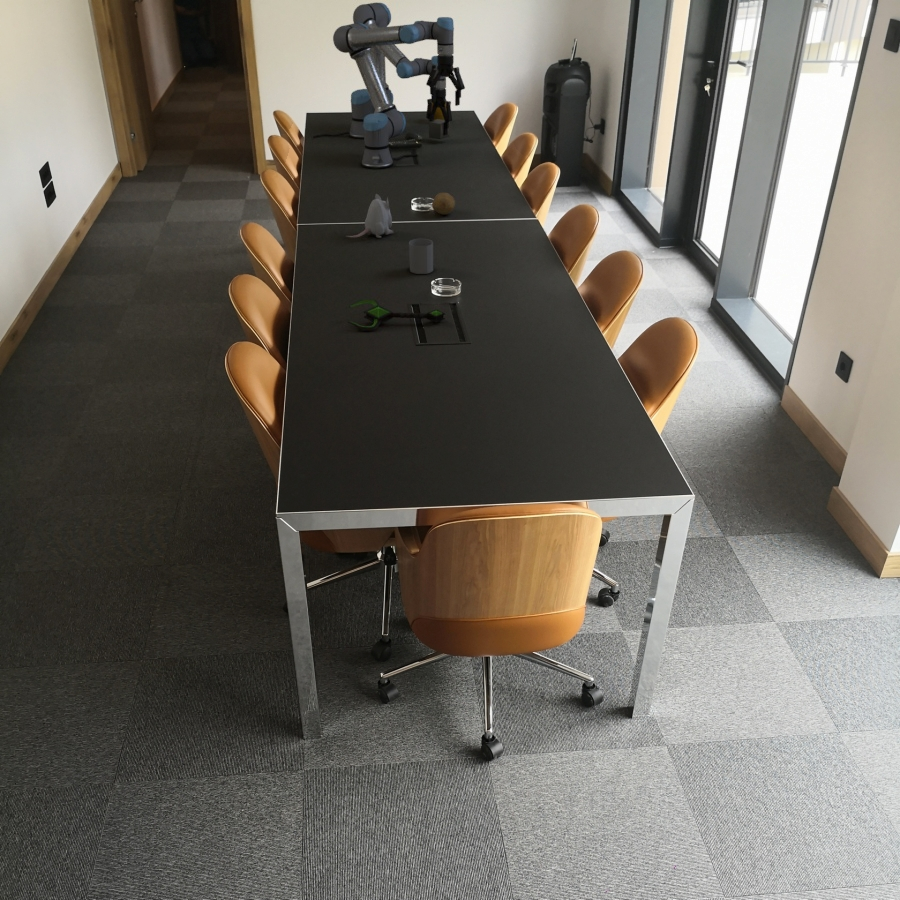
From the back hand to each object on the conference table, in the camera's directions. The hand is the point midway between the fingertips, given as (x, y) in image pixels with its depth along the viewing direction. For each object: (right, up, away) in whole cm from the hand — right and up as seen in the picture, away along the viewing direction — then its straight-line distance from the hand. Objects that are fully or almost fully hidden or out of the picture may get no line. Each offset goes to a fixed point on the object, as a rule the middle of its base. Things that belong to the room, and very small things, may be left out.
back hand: (439, 133), depth 465 cm
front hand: (+4, -5, -54) cm, 55 cm away
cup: (-4, -106, -156) cm, 189 cm away
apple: (-1, +21, +42) cm, 47 cm away
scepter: (-11, -130, -194) cm, 234 cm away
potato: (+3, -71, -102) cm, 124 cm away
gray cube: (0, -1, +1) cm, 2 cm away
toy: (-26, -87, -128) cm, 157 cm away
